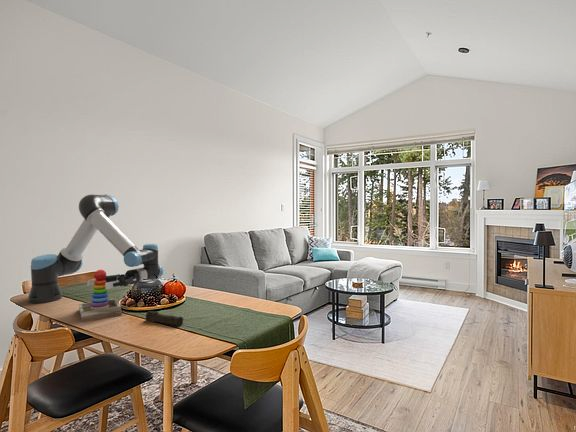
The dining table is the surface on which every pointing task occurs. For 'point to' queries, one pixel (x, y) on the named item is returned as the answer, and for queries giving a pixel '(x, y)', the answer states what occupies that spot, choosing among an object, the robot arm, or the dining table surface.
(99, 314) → the grey wooden tray
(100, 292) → the stacking toy
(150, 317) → the hand tool
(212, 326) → the dining table surface
